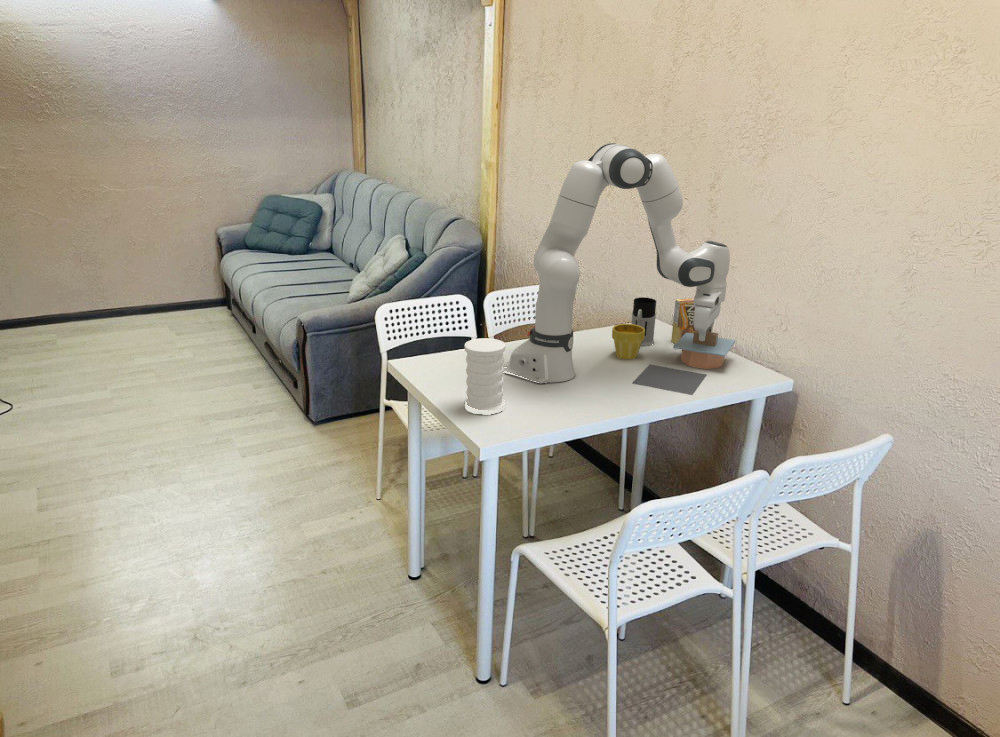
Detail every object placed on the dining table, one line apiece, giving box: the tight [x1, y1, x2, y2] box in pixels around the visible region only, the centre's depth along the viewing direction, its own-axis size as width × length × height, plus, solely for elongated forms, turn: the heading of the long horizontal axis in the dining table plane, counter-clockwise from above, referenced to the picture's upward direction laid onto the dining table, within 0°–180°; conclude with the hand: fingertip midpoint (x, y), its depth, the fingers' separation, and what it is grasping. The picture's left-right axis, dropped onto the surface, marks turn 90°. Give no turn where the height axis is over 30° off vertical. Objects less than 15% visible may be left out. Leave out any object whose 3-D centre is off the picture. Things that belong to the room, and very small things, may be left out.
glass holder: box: [631, 296, 657, 347], centre depth 239 cm, size 9×14×15 cm, turn 158°
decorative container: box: [464, 337, 507, 411], centre depth 190 cm, size 12×12×18 cm
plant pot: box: [611, 323, 645, 360], centre depth 229 cm, size 10×10×10 cm
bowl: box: [680, 349, 726, 370], centre depth 225 cm, size 13×13×6 cm
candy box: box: [670, 297, 696, 345], centre depth 242 cm, size 9×4×15 cm, turn 103°
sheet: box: [672, 330, 737, 358], centre depth 223 cm, size 16×16×4 cm
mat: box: [631, 364, 708, 396], centre depth 212 cm, size 18×18×1 cm
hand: (705, 336), depth 223 cm, fingers open, 7 cm apart
